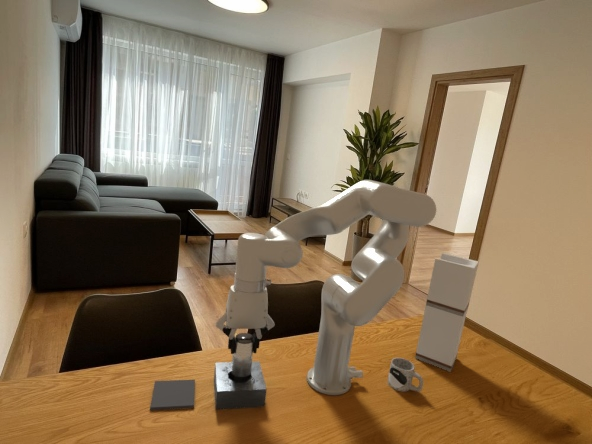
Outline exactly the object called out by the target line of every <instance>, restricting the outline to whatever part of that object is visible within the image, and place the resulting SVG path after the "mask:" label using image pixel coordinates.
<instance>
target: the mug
mask: <svg viewBox="0 0 592 444" xmlns="http://www.w3.org/2000/svg"><path fill="white" fill-rule="evenodd" d="M389 367H390V368H389V371H388V377H387V385H388V386H389V387H390V388H392V389H393V390H395V391H396V392H397V391H398V392H403V393H405V392H406V393H407V392H409V391H415V392H419V393H420V392H421V391H422V390H423V386H424V378H423V377H422V376H421V375H420V374H419V373H418V372H417V371H415V368H416V366H415V364H414V363H413V362H412V361H410V360H409V359H406V358H403V357H394V358H392V359H391V362H390V366H389ZM413 378H416V379H417V380H418V381H419V385H418V386H415V385H414V384H413Z"/></svg>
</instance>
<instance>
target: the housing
mask: <svg viewBox="0 0 592 444" xmlns="http://www.w3.org/2000/svg"><path fill="white" fill-rule="evenodd" d="M231 369H232V361H229V362H226V361H225V362H223V361H221V362H215V363H214V373H213V374H214V375H213V386H214V388H213V389H214V406H215V409H214V410H217V411H218V410H234V409H235V410H236V409H248V408H249V409H251V408H252V409H253V408H255V409H256V408H265V406H266V398H267V397H266V396H267V389H268V388H267V385H266V382H265V377H264V374H263V370H262V366H261V363H260V361H252V366H251V373H250V375H248V376H246V377H237V376H234V375H233V374H232V372H231Z"/></svg>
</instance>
